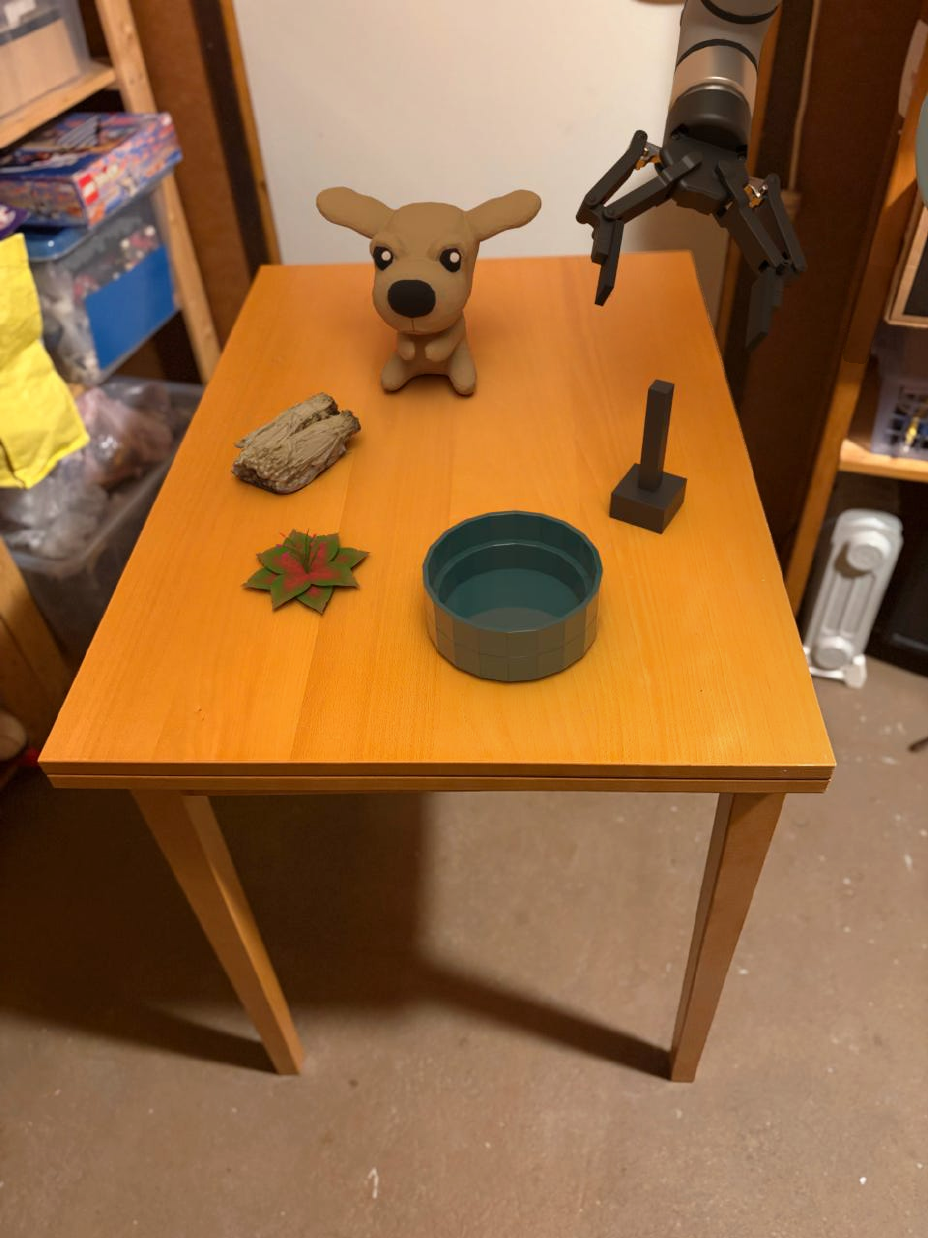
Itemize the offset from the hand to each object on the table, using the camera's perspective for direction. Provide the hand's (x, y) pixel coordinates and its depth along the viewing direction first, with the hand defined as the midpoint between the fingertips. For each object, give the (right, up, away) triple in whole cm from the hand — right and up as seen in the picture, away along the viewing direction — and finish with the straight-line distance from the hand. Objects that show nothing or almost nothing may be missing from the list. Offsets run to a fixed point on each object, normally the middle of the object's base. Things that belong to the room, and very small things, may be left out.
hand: (681, 319), depth 77 cm
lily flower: (-33, -21, +11) cm, 40 cm away
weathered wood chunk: (-36, -8, +24) cm, 44 cm away
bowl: (-14, -25, +5) cm, 29 cm away
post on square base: (0, -14, +15) cm, 21 cm away
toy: (-22, +5, +36) cm, 42 cm away
